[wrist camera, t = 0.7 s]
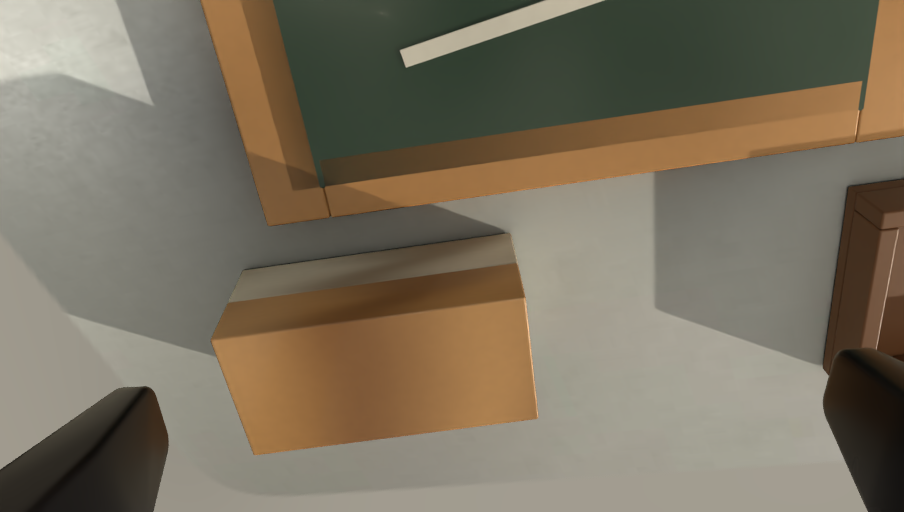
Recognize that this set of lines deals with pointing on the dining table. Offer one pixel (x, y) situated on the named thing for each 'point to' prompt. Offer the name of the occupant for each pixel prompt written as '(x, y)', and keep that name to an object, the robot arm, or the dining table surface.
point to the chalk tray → (870, 273)
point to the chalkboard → (539, 91)
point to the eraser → (379, 345)
